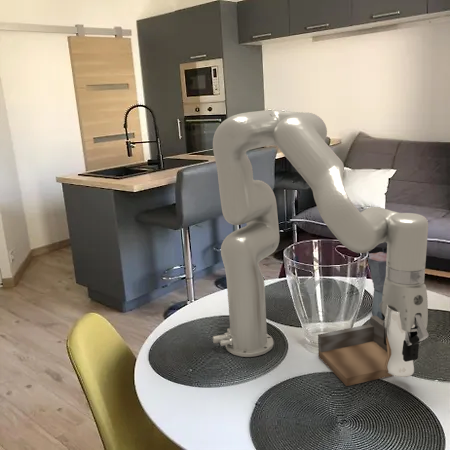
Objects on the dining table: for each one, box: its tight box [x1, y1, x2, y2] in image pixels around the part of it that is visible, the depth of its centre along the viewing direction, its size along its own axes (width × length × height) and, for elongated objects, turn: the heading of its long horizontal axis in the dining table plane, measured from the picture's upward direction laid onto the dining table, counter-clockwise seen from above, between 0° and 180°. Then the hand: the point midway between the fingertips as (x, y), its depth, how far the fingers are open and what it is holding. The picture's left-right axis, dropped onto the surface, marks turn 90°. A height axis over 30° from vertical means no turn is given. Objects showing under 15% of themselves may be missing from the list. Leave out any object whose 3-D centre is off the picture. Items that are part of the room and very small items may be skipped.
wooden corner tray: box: [317, 315, 393, 387], centre depth 121 cm, size 16×14×8 cm
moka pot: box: [367, 246, 387, 320], centre depth 144 cm, size 10×15×20 cm, turn 54°
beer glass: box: [385, 304, 416, 378], centre depth 109 cm, size 7×7×15 cm
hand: (400, 350), depth 109 cm, fingers closed on beer glass, 6 cm apart
